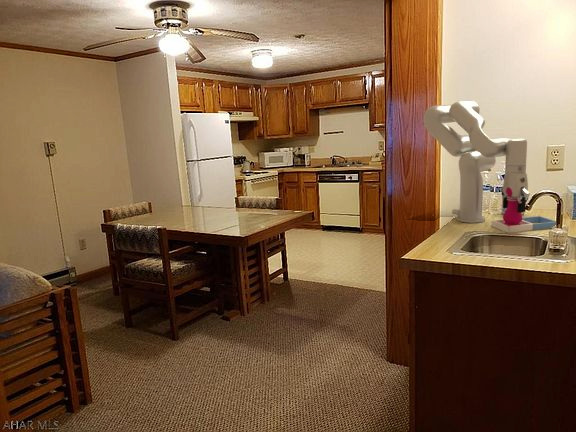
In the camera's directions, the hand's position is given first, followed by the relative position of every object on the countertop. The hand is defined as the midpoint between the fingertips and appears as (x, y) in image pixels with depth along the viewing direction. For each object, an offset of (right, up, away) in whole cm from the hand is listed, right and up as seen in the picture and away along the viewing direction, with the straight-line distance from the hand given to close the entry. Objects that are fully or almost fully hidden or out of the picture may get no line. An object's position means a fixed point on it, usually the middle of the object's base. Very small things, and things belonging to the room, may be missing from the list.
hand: (513, 210), depth 177 cm
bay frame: (+6, -7, +2) cm, 9 cm away
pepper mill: (0, -8, +2) cm, 8 cm away
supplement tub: (+13, -2, +26) cm, 29 cm away
